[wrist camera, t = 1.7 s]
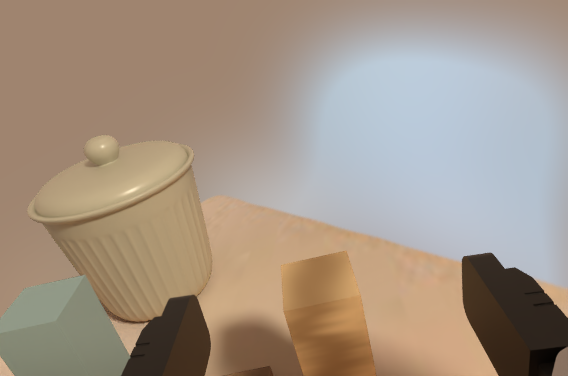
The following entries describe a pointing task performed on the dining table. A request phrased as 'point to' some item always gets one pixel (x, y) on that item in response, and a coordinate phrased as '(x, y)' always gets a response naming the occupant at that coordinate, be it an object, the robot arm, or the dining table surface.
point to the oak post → (326, 317)
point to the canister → (130, 224)
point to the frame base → (65, 333)
